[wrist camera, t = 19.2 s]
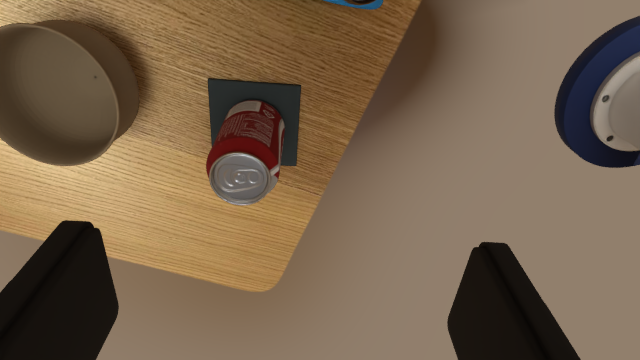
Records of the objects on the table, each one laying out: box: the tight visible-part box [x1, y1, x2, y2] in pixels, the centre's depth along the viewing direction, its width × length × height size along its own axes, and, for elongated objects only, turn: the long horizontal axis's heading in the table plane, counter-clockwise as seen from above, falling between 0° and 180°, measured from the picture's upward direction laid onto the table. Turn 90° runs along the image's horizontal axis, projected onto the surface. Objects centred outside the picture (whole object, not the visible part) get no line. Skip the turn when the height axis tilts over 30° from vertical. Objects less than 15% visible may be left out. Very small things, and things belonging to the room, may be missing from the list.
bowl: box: [0, 20, 139, 166], centre depth 40 cm, size 13×13×10 cm
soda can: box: [206, 100, 285, 205], centre depth 42 cm, size 7×7×12 cm
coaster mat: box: [208, 78, 301, 166], centre depth 47 cm, size 10×10×1 cm
